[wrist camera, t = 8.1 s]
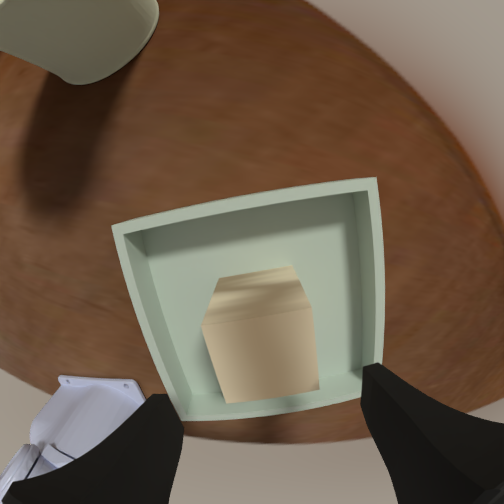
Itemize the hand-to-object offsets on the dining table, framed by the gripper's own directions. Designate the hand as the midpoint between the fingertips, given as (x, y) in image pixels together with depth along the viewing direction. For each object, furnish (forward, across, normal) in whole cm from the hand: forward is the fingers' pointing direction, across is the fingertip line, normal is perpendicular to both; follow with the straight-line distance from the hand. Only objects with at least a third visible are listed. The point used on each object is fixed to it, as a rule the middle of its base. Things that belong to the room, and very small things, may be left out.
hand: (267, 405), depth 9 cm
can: (+9, +8, -22) cm, 25 cm away
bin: (+9, 0, 0) cm, 9 cm away
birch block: (+8, 0, 0) cm, 8 cm away
